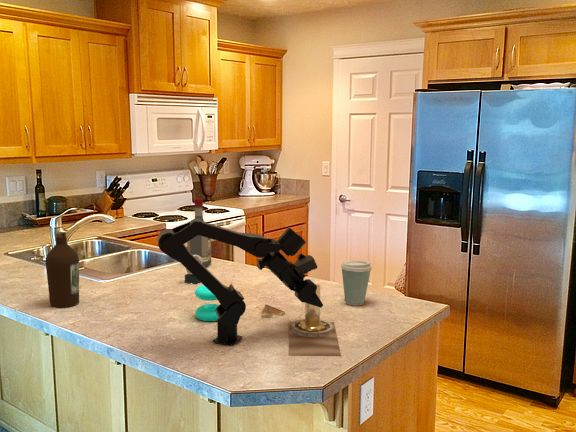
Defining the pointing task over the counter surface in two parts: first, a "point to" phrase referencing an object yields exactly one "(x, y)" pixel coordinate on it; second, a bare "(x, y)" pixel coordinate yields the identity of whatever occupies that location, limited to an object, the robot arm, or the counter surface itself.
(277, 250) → the robot arm
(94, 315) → the counter surface
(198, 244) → the liquor
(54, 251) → the olive oil
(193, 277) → the watch
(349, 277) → the disposable coffee cup
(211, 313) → the turquoise yo-yo shaped spool
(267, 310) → the shard
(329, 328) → the carrier plate
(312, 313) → the gold piece
